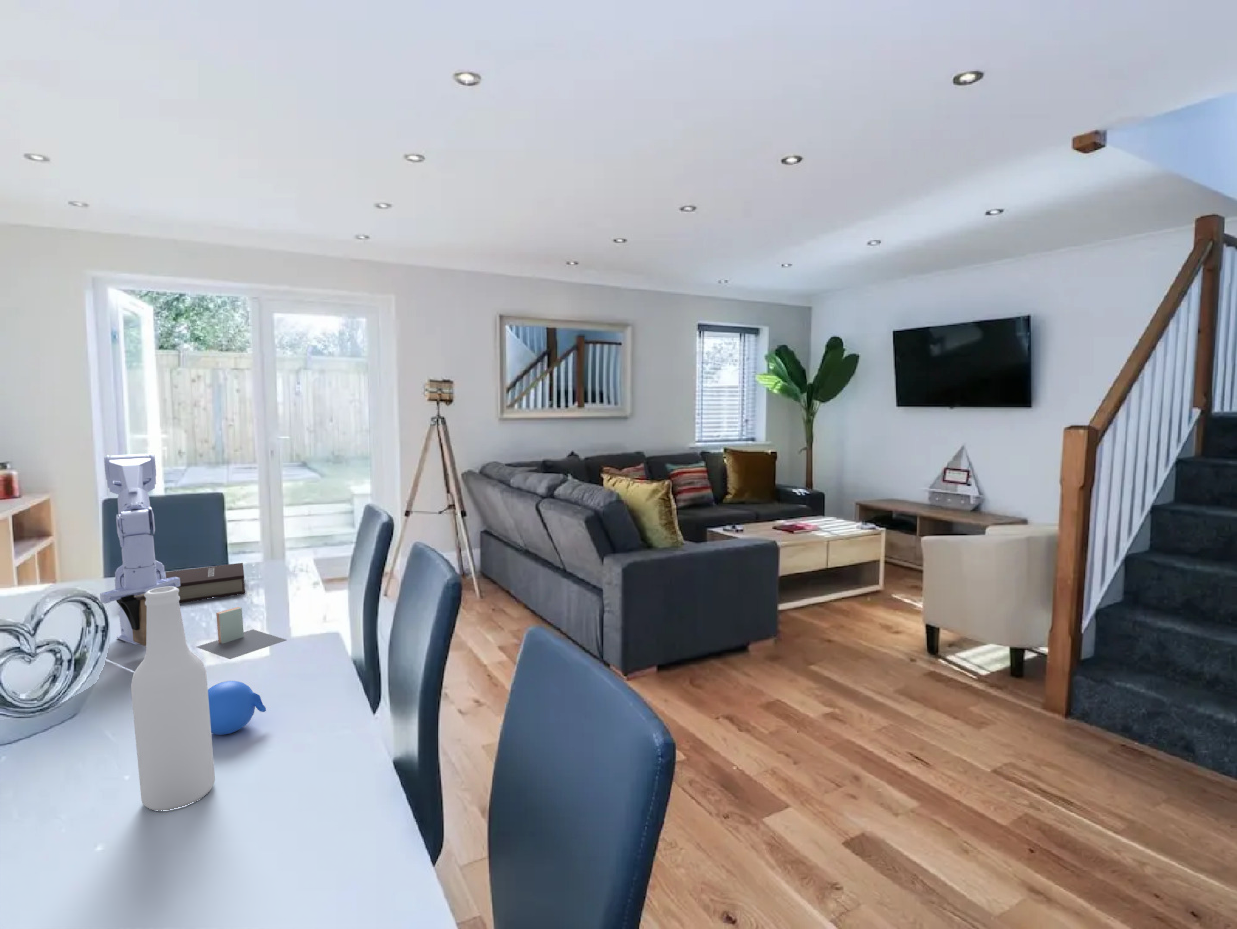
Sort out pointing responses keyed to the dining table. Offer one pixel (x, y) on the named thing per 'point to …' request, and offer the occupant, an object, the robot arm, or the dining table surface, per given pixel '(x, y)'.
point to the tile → (230, 625)
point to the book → (209, 582)
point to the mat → (242, 644)
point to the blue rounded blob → (232, 706)
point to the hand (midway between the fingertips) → (145, 626)
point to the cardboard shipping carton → (141, 621)
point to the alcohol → (171, 711)
